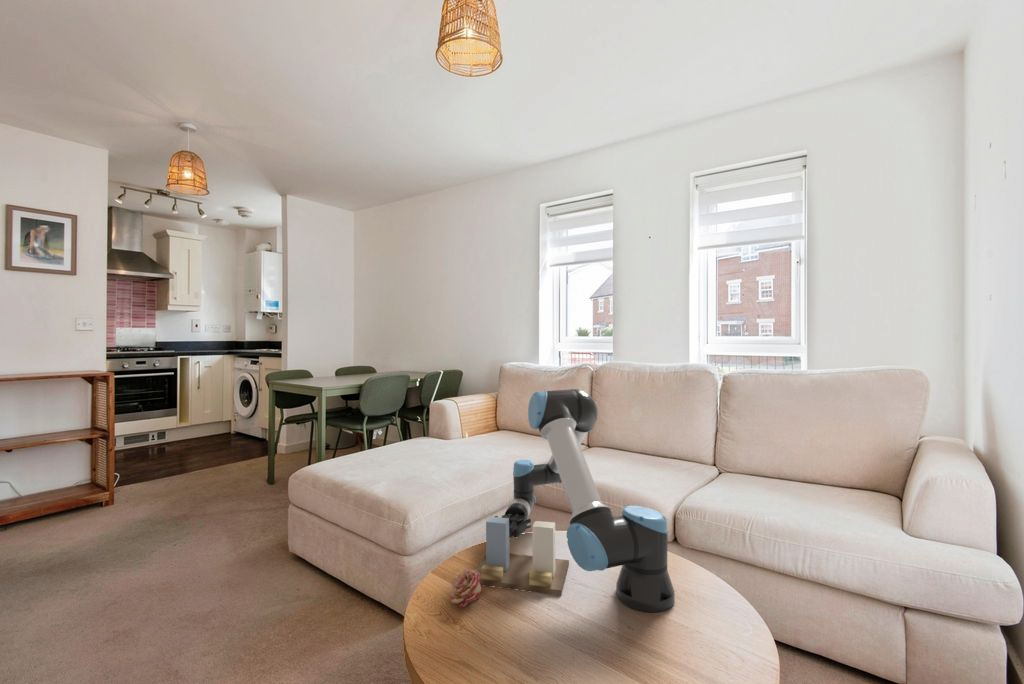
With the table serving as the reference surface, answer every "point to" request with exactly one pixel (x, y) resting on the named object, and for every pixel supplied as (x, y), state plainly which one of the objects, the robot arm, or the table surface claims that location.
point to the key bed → (524, 575)
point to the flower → (466, 587)
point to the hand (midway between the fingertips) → (499, 542)
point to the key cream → (544, 547)
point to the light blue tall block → (497, 542)
